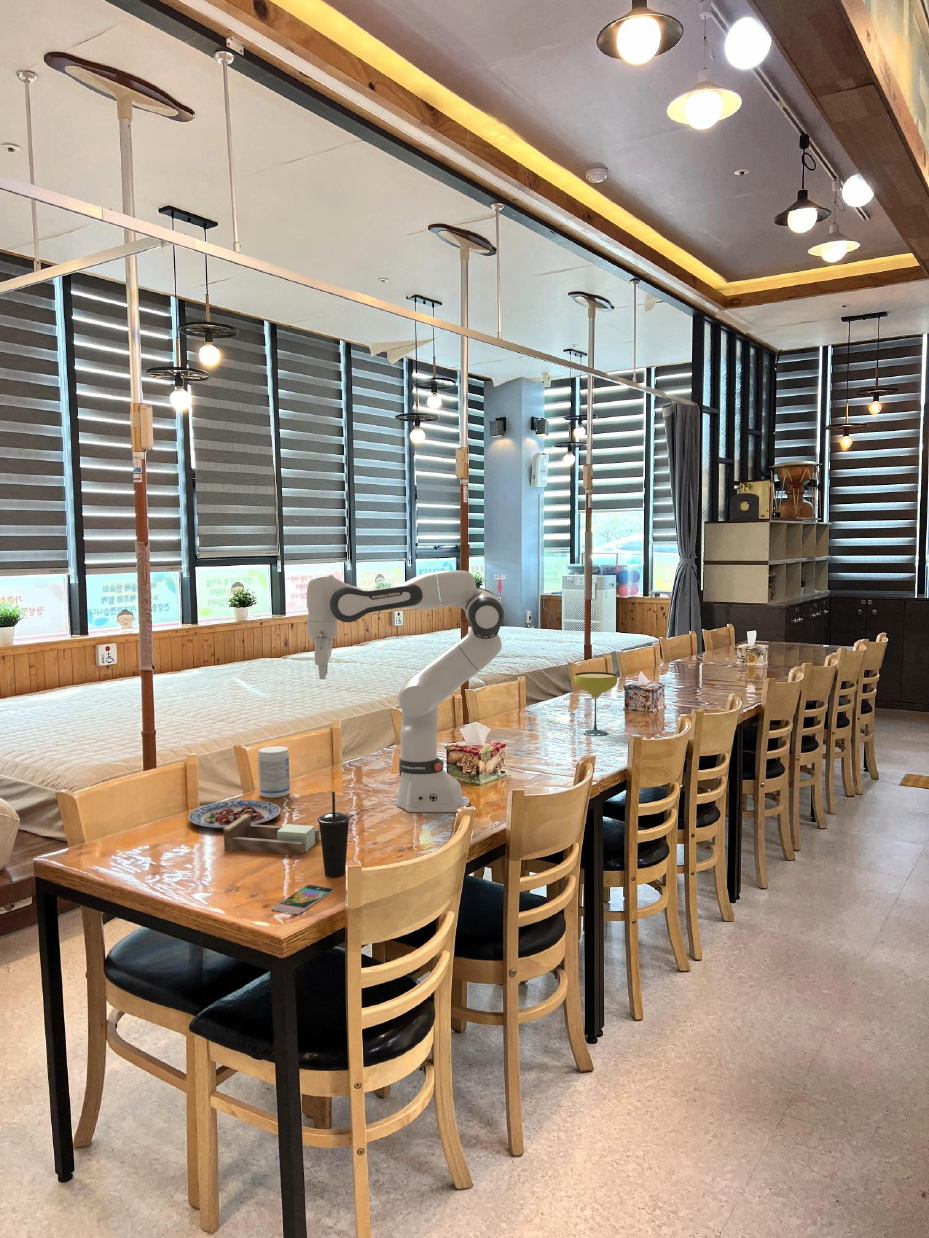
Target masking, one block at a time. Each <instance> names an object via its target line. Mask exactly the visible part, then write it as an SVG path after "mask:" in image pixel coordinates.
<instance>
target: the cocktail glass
mask: <svg viewBox="0 0 929 1238" xmlns="http://www.w3.org/2000/svg"><path fill="white" fill-rule="evenodd" d="M573 676H574V677H573V682H574V684H575V686H577V687H578V688H579V689H581V690H582V691H584V692H586V693H588V694H590V696H591V697H592V699H594V723H593V729H590V730H589V729H586V730H584V731H585V732H587V734H594V735H597V734H600V735H601V734H602V735H603V734H607V735H608V734H609V732H608V733H607V731H605V730H602V729H598V727H597V699H598V698H600V696H601V695H602V694H603V693H605V692H607V691H609V690H611V689H613V688H614V687H615V686H616V685H617V684H618V675H617V674H616V673H612V672H603V671H602V672H601V671H586V672H585V671H584V672H577V673H574V675H573Z"/></svg>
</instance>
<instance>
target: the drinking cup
mask: <svg viewBox="0 0 929 1238" xmlns="http://www.w3.org/2000/svg"><path fill="white" fill-rule="evenodd" d="M331 803H332V804H331V805H332V806H331V807H332V810H331V812H328V813H325V814H323V815H321V816H318V818H317V823H318V825H319V837H320V843H321V851H322V861H323V869H324V876H325V877H328V878H339V877H343V876H344V875H345V874H346V867H347V866H346V864H347V849H348V838H349V824H350V823H349V822H350V821H351V817H350V816H349V815H348V814H346V813H345V814H344V813H343V812H337V811H336V792H335V791H331ZM345 866H346V867H345ZM344 873H345V874H344Z"/></svg>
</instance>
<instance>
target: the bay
mask: <svg viewBox="0 0 929 1238" xmlns="http://www.w3.org/2000/svg"><path fill="white" fill-rule="evenodd" d="M283 826H284V825H282V826H281V825H280V826H279V825H268V824H267V825H265V824H264V825H263V824H251V815H247V814H245V815H244V816H242V817H241V818H239V819H237V820H236V821H234V822H233V823H231V824H230V825H228V826H226V827H225V828H222V829H223V847H224V848H223V849H224V850H228V851H240V852H241V851H242V852H252V853H253V852H255V853H265V854H266V853H267V854H278V855H279V854H280V855H289V856H290V855H292V856H293V855H294V856H302V855H304V852H305V851H304V843H303V842H297V841H284V840H277V831H278V830H279V829H281V828H282V827H283ZM319 841H321V838H320V828H315V843H318V842H319Z"/></svg>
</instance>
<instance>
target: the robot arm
mask: <svg viewBox="0 0 929 1238" xmlns="http://www.w3.org/2000/svg"><path fill="white" fill-rule="evenodd" d="M306 588H307V589H306V608H307V612H308V614H307V619H306V621H307V622H306V623H307V624H306V625H307V626H306V627H307V628H306V629H307V637H309V638H311V642H312V643H314V664H315V666H318V667H317V668H318V673H319V674H318V675H319V677H318V678H319V679H320V680H326V676H327V675H328V673H329V672H328V670H329V669H328V666H329V661H330V659H331V656H332V651H333V650H332V648H333V642H334V637H338V633H339V632H338V621H340V622H342V623H354V622H357V621H358V620H359V619H362V617H364V616H366V615H368V614H371V613H375V612H376V613H377V612H382V611H387V610H394V609H414V610H438V609H445V608H451V607H455V608H461V609H462V610H464V613H465V617H466V620H467V621H468V622H469V626H470V629H469V632H467V634H466V635H465V636H464V637H462V638H461V639H460V640H458V641H457V642H455V643H454V644H453V645H451V647H450V648H448V649H447V650H445V651H444V652H443V653H442V654H440V655H439V656H437V658H435V659H434V660H433V661H431V663H430V664H428V665H427V666H425V668H423V669H422V670H421V671H419V673H417V674H415V675H412V676H410V677H409V678H408V679H407V680H406V681H405V682H404V684H403V686H402V687H401V688H400V690H399V692H398V696H397V698H398V699H397V701H398V702H397V703H398V705H399V707H400V709H401V721H400V722H401V723H400V757H399V761H398V772H399V777H400V778H399V786H398V787H399V789H398V794H397V798H396V800H395V804H396V806H397V807H399V808H400V809H404V810H406V812H408V813H457V812H456V811H457V809H459V808H460V807H464V806H468V807H469V805H470V804H471V803H470V798H469V797H467V796H463V790H462V786H461V784H460V782H459V781H458V780H457V779H456V778H454V777H453V776H452V775H450V774H449V773H448V772H446V771H445V770H444V761H445V759H441V758H439V757H438V744H437V743H438V734H437V733H438V706H439V705H441V703H443V701H445V700H446V699H447V698H448V697H449V696H450V695H452V694H453V693H454V692H456V690H458V689H459V688H460V687H461V686H463V684H465V683H466V682H467V681H469V680H470V679H471V678H472V677H474V676H475V675H477V673H479V672H481V671H482V670H483V669H484V668H485V667H486V666H488V665H489V664H490V663H491V662H492V661H493V660H494V659H495V658H496V657H497V655H498V654H499V653H500V652H501V650H502V647H503V646H502V645H503V644H502V640H501V638H500V635H499V634H498V633H499V632H500V629H501V628H502V627H501V626H502V624H503V622H504V618H505V610H504V606H503V604H502V602H501V601H500V599H499V598H498V597H497V596H496V595H495V594H494V593H493V592H492V591H490V590H488V589H485V588H483V587H479V586H477V585H476V580H475V578H474V576H473V575H472V573H470V572H469V571H467V570H461V569H460V570H457V569H456V570H455V569H454V570H453V569H452V570H451V569H450V570H449V569H448V570H447V569H446V570H438V571H430V572H426V573H423V574H419V575H417V576H415V577H412V578H409V580H407V581H405V582H403V583H401V584H398V585H395V586H390V587H383V588H377V589H370V590H363V589H362V588H360V587H359V586H358V587H357V586H354V585H351V584H349V583H345V582H344V581H341V579H340V580H339V579H338V578H336V577H335V575H331V574H327V575H321V576H317V577H313V578H312V579H311V580H310V581H309V582H308V583H307V587H306ZM469 803H470V804H469Z"/></svg>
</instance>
